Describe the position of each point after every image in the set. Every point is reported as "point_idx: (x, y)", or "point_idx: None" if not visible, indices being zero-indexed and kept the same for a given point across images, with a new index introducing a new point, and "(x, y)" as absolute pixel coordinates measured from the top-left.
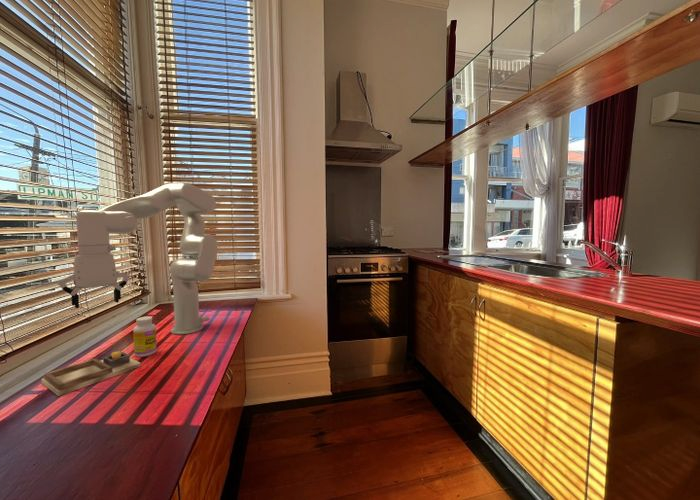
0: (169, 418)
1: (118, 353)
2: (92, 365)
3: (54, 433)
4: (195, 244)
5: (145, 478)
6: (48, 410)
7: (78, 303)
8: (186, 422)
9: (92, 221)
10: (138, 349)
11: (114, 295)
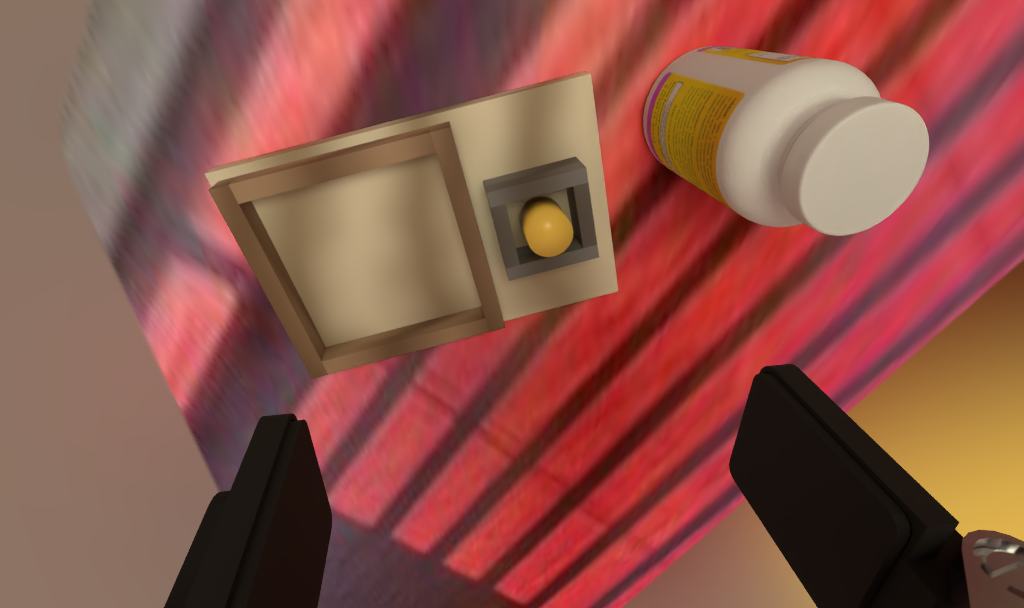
0: (556, 603)
1: (556, 254)
2: (433, 158)
3: (340, 548)
4: None
5: None
6: None
7: (317, 577)
8: None
9: None
10: (667, 163)
11: (806, 474)
